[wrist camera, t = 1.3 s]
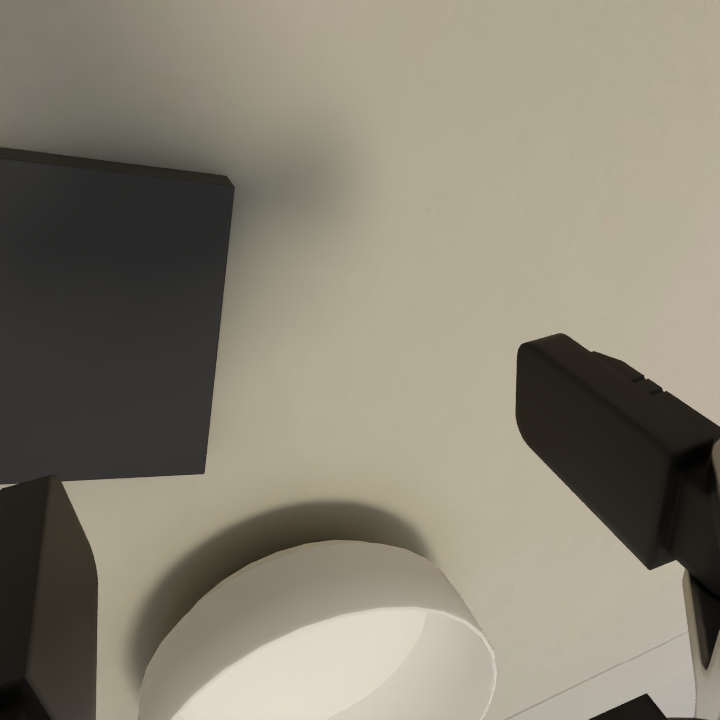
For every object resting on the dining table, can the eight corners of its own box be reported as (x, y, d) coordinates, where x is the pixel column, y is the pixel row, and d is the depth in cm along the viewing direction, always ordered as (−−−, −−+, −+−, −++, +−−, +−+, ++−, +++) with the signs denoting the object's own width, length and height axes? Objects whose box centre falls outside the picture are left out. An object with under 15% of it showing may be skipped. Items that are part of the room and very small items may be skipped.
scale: (-195, 468, 26) (-232, 524, 23) (-272, 112, 20) (-334, 129, 18) (199, 452, 32) (209, 496, 30) (227, 175, 27) (242, 196, 24)
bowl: (343, 433, 35) (403, 539, 28) (476, 596, 46) (542, 701, 39) (54, 641, 35) (41, 799, 28) (257, 754, 46) (284, 887, 39)
